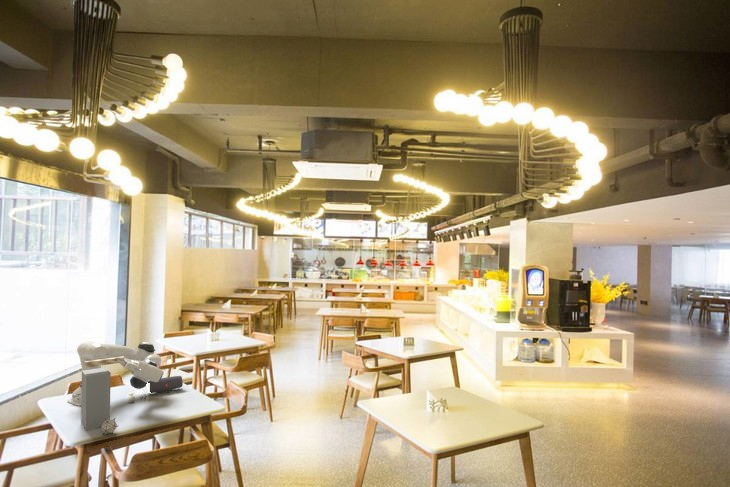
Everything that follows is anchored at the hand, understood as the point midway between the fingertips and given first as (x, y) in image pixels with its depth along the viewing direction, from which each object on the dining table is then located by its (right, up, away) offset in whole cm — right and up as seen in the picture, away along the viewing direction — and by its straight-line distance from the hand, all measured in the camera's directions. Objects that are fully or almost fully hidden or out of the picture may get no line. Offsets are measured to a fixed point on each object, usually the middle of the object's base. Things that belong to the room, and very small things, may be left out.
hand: (115, 359), depth 269 cm
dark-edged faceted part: (+8, -35, -22) cm, 42 cm away
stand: (-8, -35, -7) cm, 37 cm away
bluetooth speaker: (+5, -37, +53) cm, 65 cm away
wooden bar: (-4, -2, -4) cm, 6 cm away
